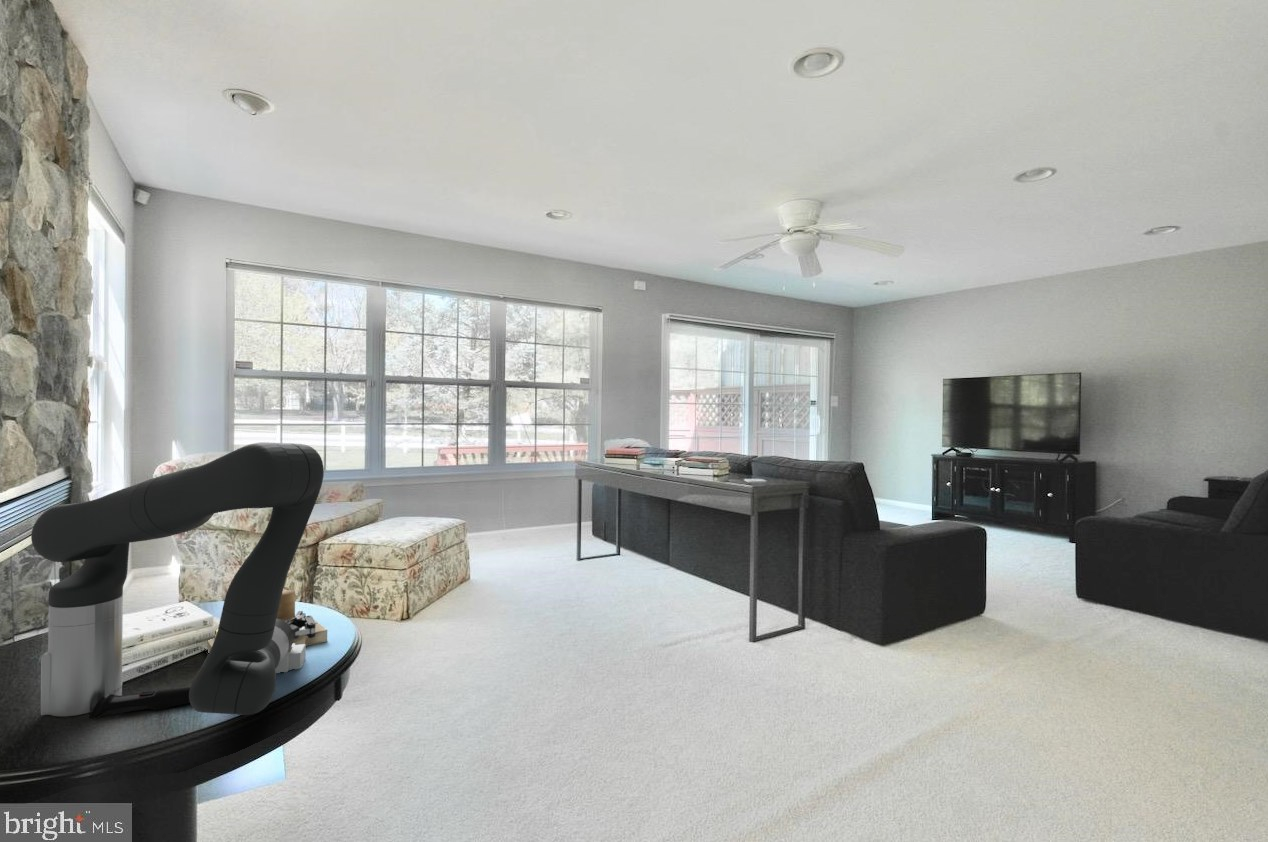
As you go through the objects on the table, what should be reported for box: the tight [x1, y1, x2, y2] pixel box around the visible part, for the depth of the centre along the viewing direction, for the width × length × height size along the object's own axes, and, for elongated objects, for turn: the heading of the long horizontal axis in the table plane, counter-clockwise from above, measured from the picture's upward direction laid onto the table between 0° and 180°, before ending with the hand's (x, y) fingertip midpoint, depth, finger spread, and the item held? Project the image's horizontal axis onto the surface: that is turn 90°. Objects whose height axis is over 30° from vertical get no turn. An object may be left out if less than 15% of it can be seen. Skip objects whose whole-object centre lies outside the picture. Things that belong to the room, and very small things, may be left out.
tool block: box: [275, 643, 307, 674], centre depth 120 cm, size 7×7×3 cm
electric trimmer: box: [89, 686, 191, 720], centre depth 103 cm, size 4×16×3 cm, turn 110°
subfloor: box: [207, 619, 328, 654], centre depth 131 cm, size 20×12×3 cm, turn 133°
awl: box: [277, 589, 296, 652], centre depth 120 cm, size 4×4×14 cm
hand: (286, 617), depth 123 cm, fingers open, 4 cm apart
